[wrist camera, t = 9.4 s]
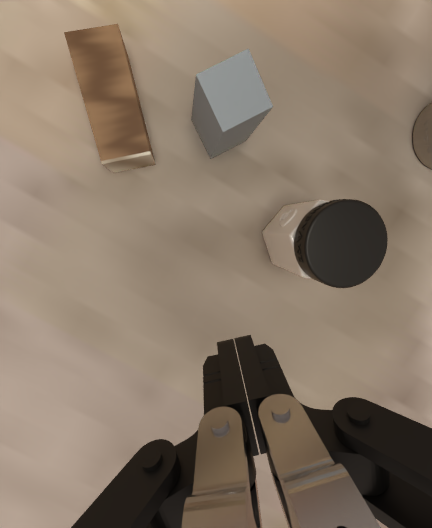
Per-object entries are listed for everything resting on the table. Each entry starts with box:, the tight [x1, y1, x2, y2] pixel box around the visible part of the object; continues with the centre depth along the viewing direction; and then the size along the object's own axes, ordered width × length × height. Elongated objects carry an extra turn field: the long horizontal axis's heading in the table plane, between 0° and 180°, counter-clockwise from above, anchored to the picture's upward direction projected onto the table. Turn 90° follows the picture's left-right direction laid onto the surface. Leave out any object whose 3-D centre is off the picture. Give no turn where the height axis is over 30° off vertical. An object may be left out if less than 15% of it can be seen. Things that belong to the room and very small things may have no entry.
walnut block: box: [64, 24, 155, 173], centre depth 29 cm, size 5×5×12 cm
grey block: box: [191, 49, 273, 159], centre depth 28 cm, size 5×5×10 cm
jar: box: [262, 199, 387, 288], centre depth 30 cm, size 9×8×12 cm
